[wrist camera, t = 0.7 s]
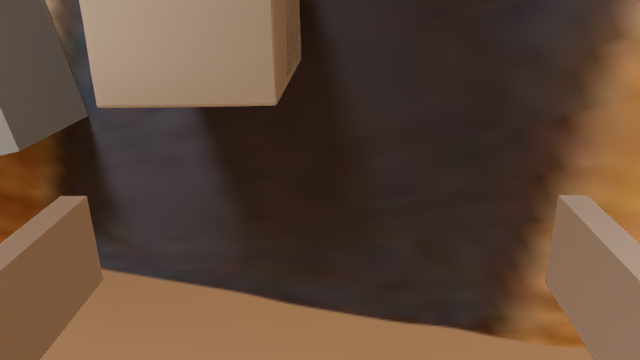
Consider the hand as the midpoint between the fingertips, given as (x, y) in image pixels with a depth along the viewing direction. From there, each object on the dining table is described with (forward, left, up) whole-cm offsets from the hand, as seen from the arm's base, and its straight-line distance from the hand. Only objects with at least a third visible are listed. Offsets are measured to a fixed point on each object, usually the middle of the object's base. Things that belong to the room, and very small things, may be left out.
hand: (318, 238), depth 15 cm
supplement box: (-7, -6, -26) cm, 27 cm away
